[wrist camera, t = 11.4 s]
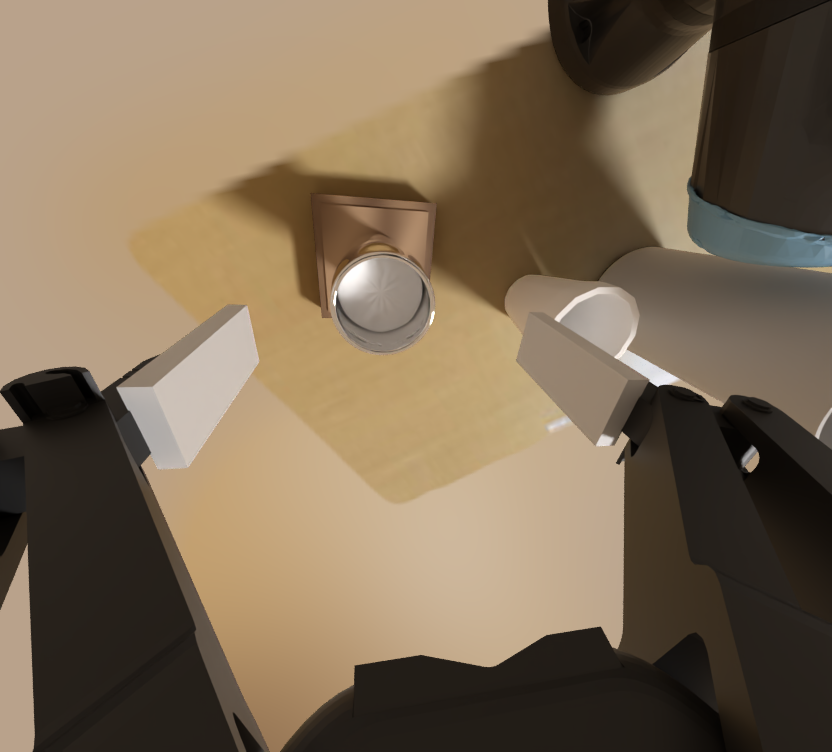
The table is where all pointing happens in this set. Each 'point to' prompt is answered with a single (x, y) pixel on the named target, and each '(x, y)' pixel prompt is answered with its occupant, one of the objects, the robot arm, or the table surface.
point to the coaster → (367, 231)
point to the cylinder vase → (735, 328)
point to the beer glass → (381, 296)
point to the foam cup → (577, 309)
